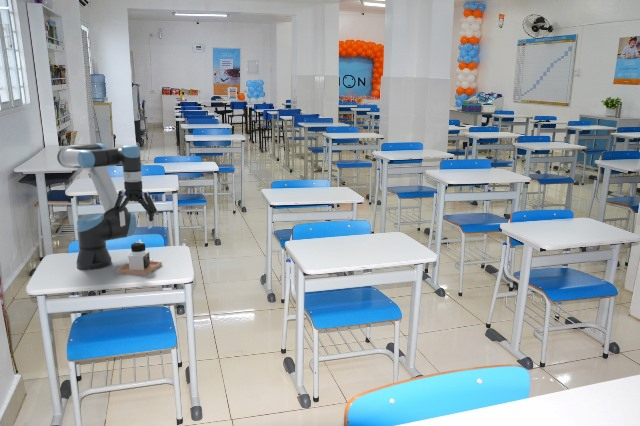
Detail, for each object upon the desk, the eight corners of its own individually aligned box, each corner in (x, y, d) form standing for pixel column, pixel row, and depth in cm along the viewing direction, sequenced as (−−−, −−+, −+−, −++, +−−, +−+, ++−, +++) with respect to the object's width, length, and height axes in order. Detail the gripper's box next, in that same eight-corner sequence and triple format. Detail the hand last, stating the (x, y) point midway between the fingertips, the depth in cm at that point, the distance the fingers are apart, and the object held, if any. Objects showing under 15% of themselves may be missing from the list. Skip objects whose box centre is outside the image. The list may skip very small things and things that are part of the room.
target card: (135, 262, 250) (135, 260, 250) (141, 258, 255) (141, 257, 255) (147, 263, 249) (147, 261, 249) (152, 259, 254) (152, 258, 254)
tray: (117, 272, 236) (116, 269, 236) (134, 262, 250) (134, 259, 249) (145, 275, 233) (145, 272, 233) (161, 265, 247) (161, 261, 246)
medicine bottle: (144, 271, 238) (142, 245, 235) (129, 270, 238) (127, 245, 235) (150, 265, 245) (148, 241, 242) (135, 265, 245) (133, 240, 242)
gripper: (102, 180, 231) (106, 226, 236) (154, 183, 225) (157, 231, 231) (112, 177, 238) (116, 222, 243) (163, 180, 233) (165, 226, 238)
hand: (136, 226), depth 237 cm, fingers open, 13 cm apart
